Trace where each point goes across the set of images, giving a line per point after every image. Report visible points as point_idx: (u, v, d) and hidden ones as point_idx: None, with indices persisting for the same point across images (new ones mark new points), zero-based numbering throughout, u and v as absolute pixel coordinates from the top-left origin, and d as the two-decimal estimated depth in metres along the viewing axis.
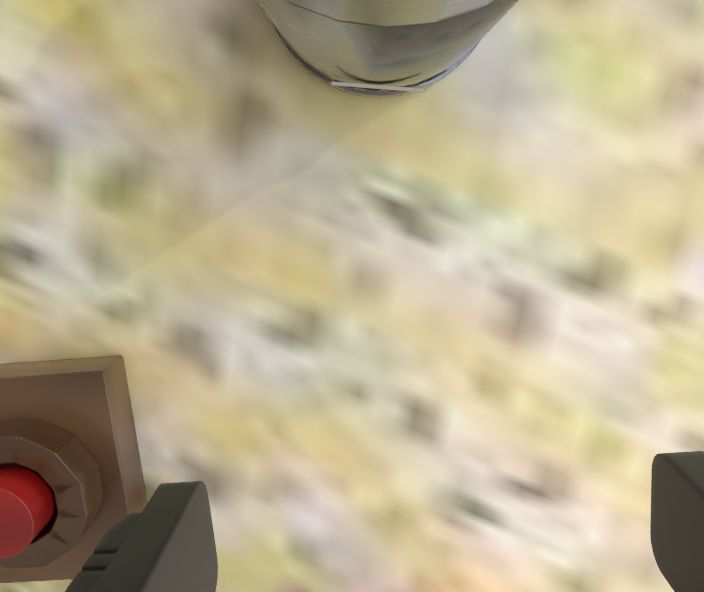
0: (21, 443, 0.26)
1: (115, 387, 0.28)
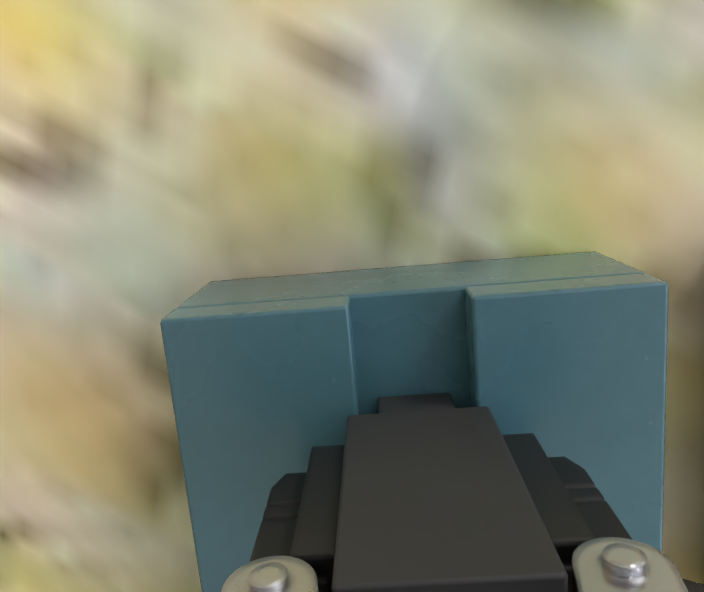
0: None
1: None
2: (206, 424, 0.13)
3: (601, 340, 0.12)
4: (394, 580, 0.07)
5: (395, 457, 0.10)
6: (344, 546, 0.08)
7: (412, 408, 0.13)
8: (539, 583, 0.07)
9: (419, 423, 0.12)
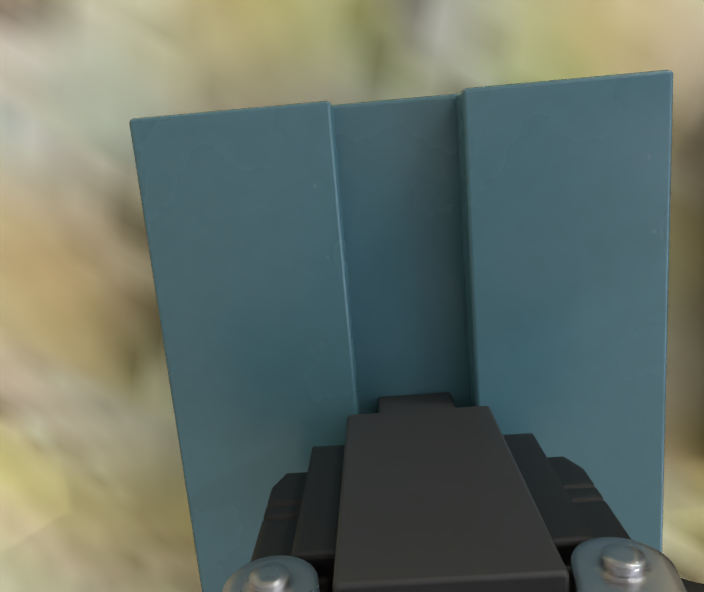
0: None
1: None
2: (179, 237, 0.12)
3: (601, 137, 0.12)
4: (394, 578, 0.07)
5: (396, 457, 0.10)
6: (345, 545, 0.08)
7: (412, 408, 0.13)
8: (540, 581, 0.07)
9: (419, 422, 0.12)
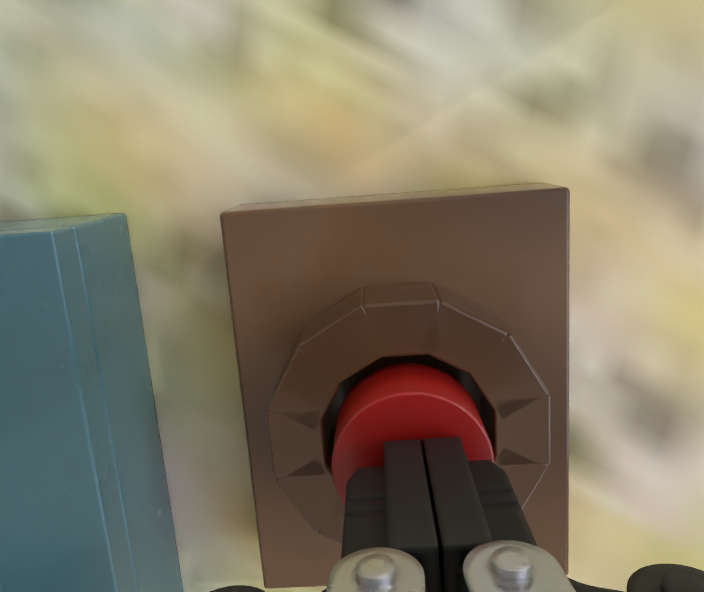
0: (447, 314, 0.13)
1: None
2: None
3: (1, 286, 0.13)
4: None
5: None
6: None
7: None
8: None
9: None
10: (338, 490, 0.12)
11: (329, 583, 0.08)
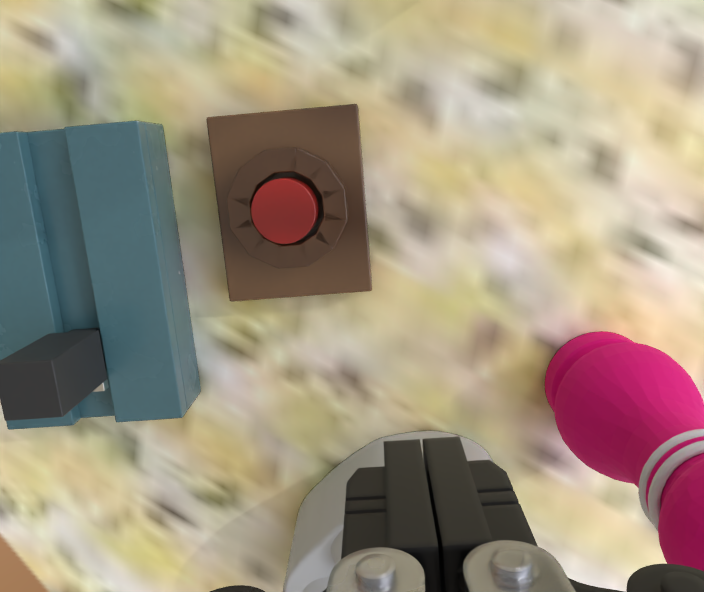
0: (299, 153, 0.32)
1: (359, 125, 0.34)
2: None
3: (115, 144, 0.32)
4: (8, 362, 0.29)
5: (45, 342, 0.32)
6: (4, 358, 0.29)
7: (77, 332, 0.34)
8: (45, 363, 0.29)
9: (67, 334, 0.33)
10: (254, 222, 0.31)
11: (329, 583, 0.08)
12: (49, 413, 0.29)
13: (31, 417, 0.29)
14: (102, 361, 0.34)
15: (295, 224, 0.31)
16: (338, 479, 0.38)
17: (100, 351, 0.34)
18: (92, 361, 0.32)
